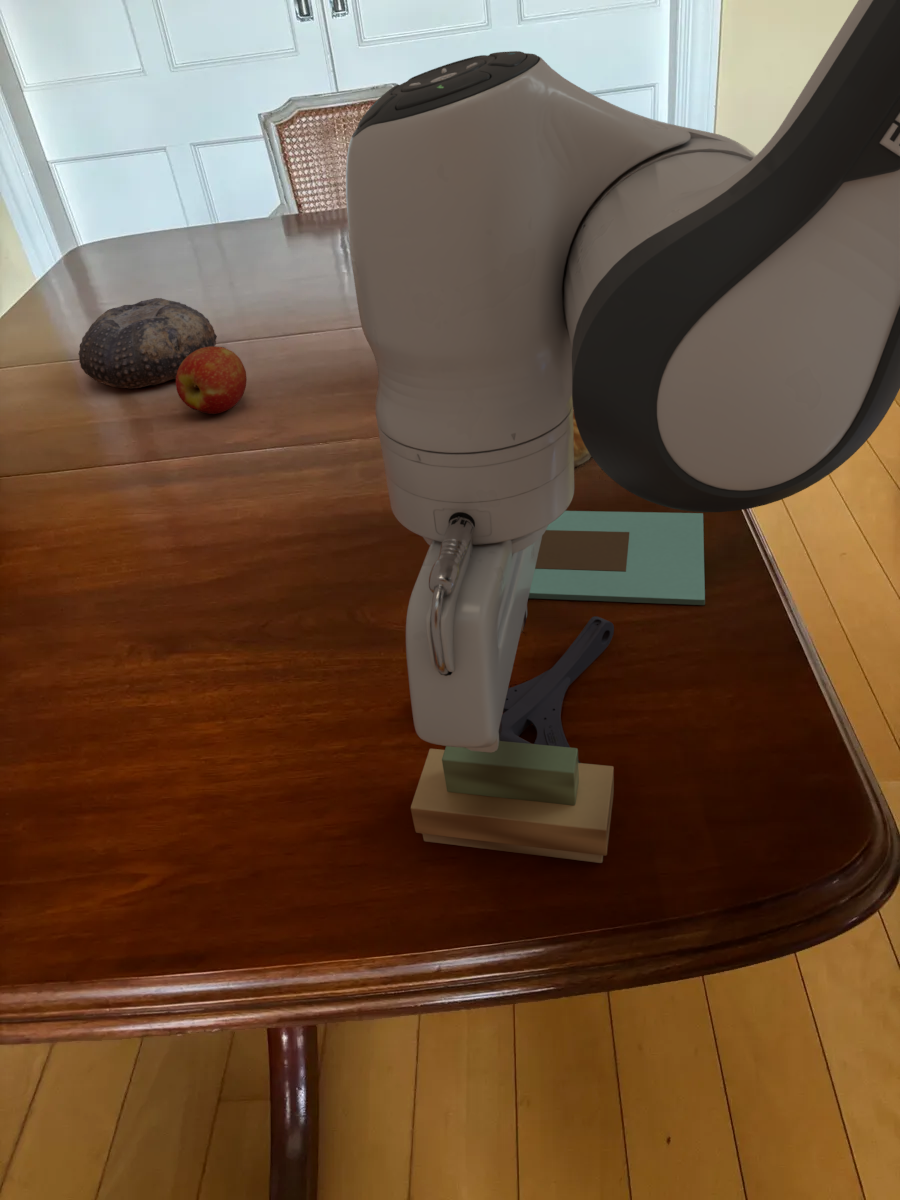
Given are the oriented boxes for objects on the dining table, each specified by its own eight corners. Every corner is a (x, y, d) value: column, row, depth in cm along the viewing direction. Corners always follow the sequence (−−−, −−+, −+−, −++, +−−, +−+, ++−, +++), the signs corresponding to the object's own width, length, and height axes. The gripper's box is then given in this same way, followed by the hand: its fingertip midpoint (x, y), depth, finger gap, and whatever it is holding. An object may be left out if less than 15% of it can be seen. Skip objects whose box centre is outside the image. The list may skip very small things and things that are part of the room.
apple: (176, 420, 113) (156, 360, 108) (216, 391, 119) (199, 333, 114) (227, 426, 110) (209, 365, 105) (265, 397, 116) (250, 337, 111)
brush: (613, 804, 58) (614, 732, 54) (606, 868, 54) (606, 796, 50) (436, 785, 61) (423, 715, 57) (417, 845, 57) (403, 775, 53)
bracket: (689, 673, 67) (690, 644, 65) (576, 800, 59) (574, 772, 57) (534, 609, 75) (532, 582, 74) (415, 713, 67) (410, 685, 65)
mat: (702, 518, 83) (703, 512, 83) (704, 605, 73) (705, 599, 73) (470, 514, 88) (470, 508, 88) (442, 594, 78) (442, 588, 78)
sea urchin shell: (144, 404, 117) (109, 329, 111) (73, 401, 128) (39, 334, 123) (249, 347, 127) (221, 277, 122) (174, 350, 139) (146, 286, 134)
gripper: (512, 604, 33) (529, 837, 42) (568, 372, 49) (572, 575, 57) (350, 596, 35) (398, 823, 43) (456, 373, 50) (476, 571, 59)
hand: (498, 679), depth 50 cm, fingers open, 8 cm apart
